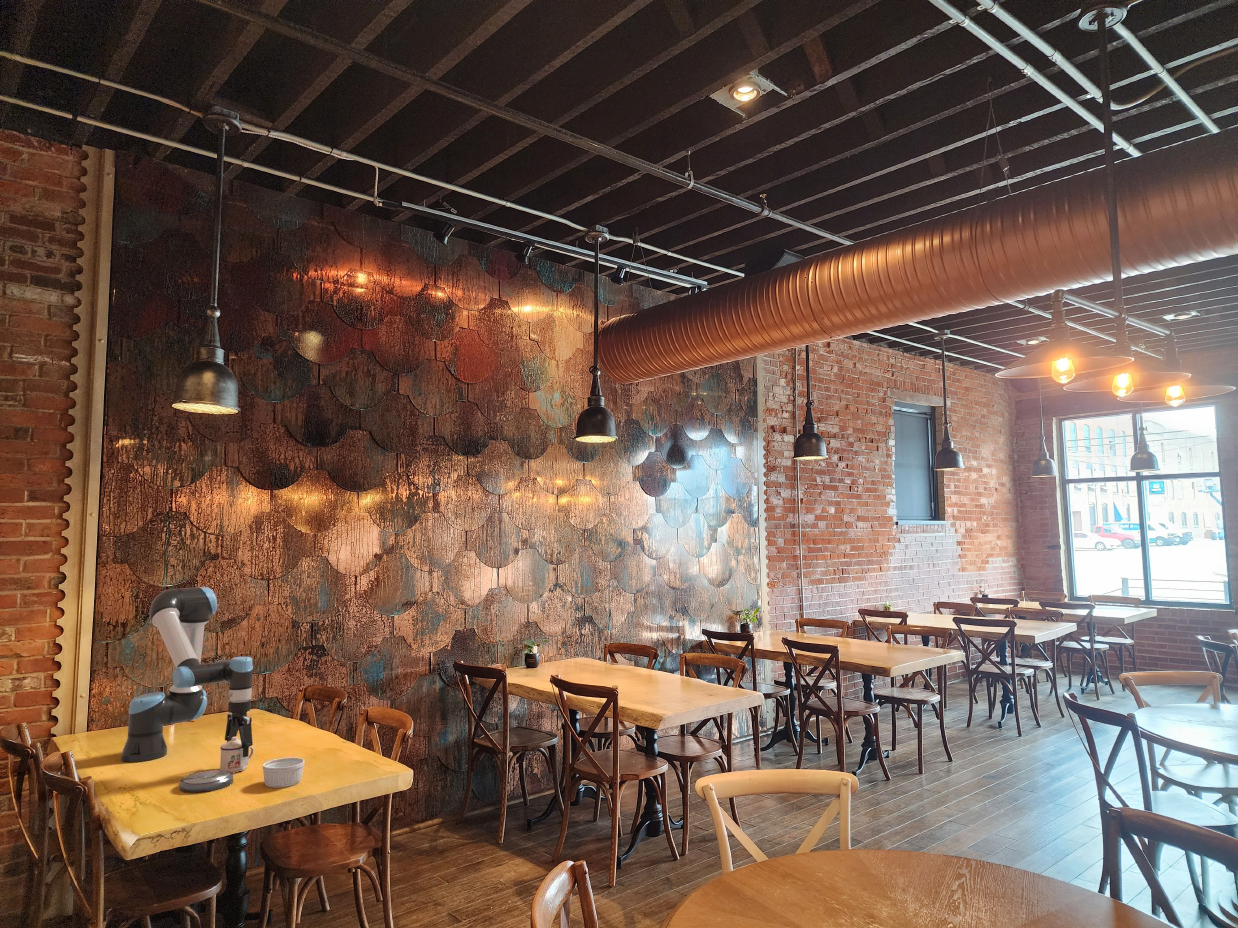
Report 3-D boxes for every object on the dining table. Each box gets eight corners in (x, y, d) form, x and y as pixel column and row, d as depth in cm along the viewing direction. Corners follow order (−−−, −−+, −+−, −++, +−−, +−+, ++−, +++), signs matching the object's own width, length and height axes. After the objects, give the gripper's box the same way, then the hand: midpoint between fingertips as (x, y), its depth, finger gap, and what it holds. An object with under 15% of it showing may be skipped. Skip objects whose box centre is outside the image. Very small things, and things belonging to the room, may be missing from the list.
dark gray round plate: (171, 786, 255) (171, 777, 256) (220, 774, 268) (220, 766, 268) (192, 796, 245) (192, 786, 246) (241, 783, 258) (241, 774, 258)
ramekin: (292, 774, 268) (293, 754, 268) (311, 781, 259) (312, 761, 260) (254, 784, 257) (255, 763, 258) (273, 792, 249) (274, 770, 250)
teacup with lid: (227, 775, 267) (228, 741, 268) (214, 771, 272) (215, 738, 273) (259, 766, 277) (261, 734, 278) (246, 762, 282) (247, 730, 283)
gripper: (215, 698, 281) (213, 760, 278) (243, 705, 267) (241, 771, 265) (236, 694, 286) (234, 755, 284) (264, 701, 273) (262, 765, 271)
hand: (237, 763), depth 275 cm, fingers closed on teacup with lid, 9 cm apart
